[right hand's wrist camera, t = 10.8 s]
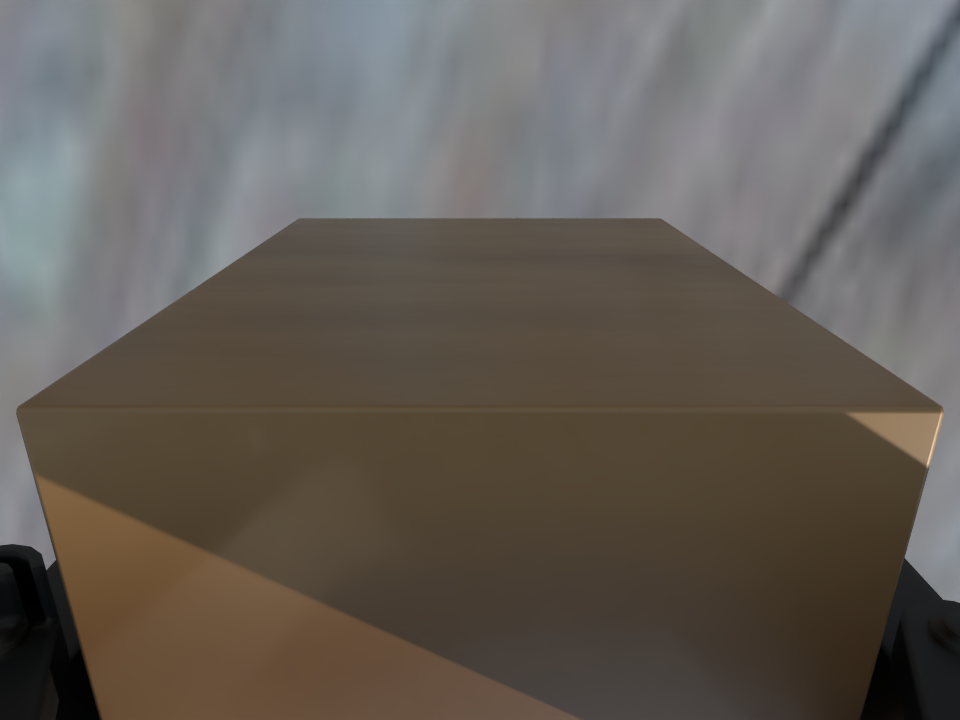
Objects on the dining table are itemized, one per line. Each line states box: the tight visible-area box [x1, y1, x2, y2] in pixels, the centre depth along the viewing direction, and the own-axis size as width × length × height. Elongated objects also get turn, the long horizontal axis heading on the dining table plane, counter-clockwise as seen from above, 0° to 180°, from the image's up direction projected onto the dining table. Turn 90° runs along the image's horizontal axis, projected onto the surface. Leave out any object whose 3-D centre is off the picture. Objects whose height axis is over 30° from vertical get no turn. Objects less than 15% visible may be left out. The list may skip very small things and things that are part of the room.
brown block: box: [16, 219, 944, 720], centre depth 11 cm, size 8×8×9 cm
